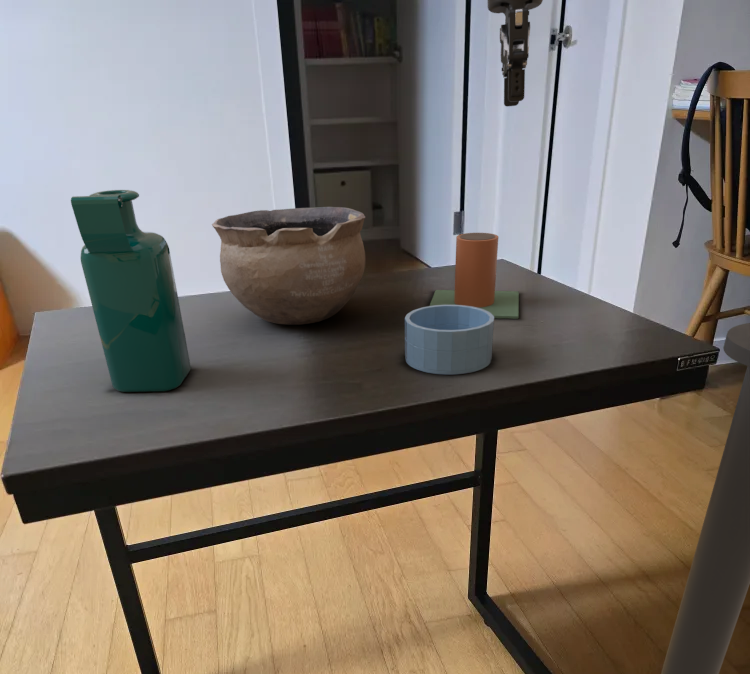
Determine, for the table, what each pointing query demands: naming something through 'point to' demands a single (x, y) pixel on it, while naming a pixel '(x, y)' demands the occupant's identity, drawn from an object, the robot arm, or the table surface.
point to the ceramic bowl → (292, 261)
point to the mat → (501, 308)
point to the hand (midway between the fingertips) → (513, 103)
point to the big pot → (449, 339)
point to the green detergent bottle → (131, 294)
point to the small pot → (475, 269)
